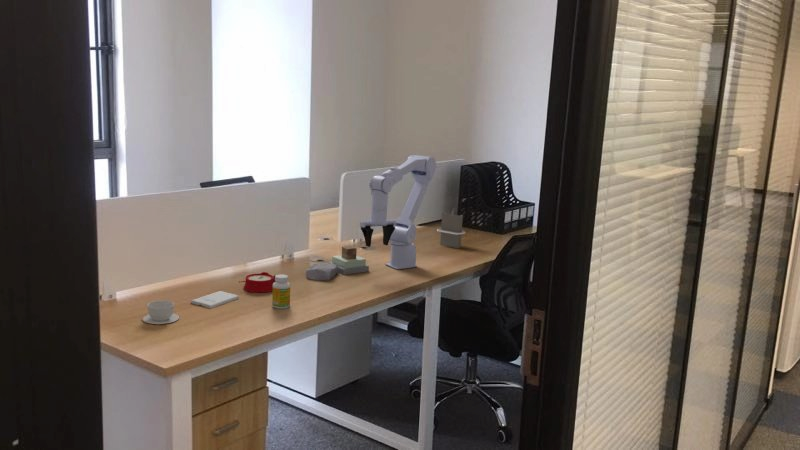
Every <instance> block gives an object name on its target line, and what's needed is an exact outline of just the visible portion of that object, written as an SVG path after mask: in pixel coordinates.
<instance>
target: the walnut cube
mask: <svg viewBox="0 0 800 450" xmlns="http://www.w3.org/2000/svg"><path fill="white" fill-rule="evenodd" d="M357 250H358V248H357V247H355V246H353V245H347V246H346V245H345V246H341V255H342V258H344V259H347V260H348V259H356V255H357Z"/></svg>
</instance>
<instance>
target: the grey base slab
mask: <svg viewBox="0 0 800 450" xmlns="http://www.w3.org/2000/svg"><path fill="white" fill-rule="evenodd" d="M327 264H333V265H336V264H334V263H332V261H329V262H327ZM337 266H338V265H337ZM369 271H370V266H369V265H367V264H366V266H359V267H352V268H343V267H341V266H338V271H337V273H339V274H342V275H350V274H357V273H364V272H365V273H366V272H369Z"/></svg>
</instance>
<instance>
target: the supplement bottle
mask: <svg viewBox="0 0 800 450" xmlns="http://www.w3.org/2000/svg"><path fill="white" fill-rule="evenodd" d="M275 275H276V276H275ZM275 275H274V276H275V281H276V282H274V283H273V291H271V292H272V293H271V294H272V299H271V300H272V301H271V303H272V305H271V306H272V307H273V308H274V309H280V310H283V309H288V308H289V307H290V306H291V284H290V282H289V275H287V274H283V273H282V274H275Z"/></svg>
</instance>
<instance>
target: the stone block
mask: <svg viewBox="0 0 800 450" xmlns="http://www.w3.org/2000/svg"><path fill="white" fill-rule="evenodd" d="M337 271H338V266H337V265H333V264H328V262H327V263H326V262H325V263H324V262H322V263H317V264H313V265H311V266H309V267H308V269H306V270H305V277H306V278H307V279H308V280H319V281H330V280H332V278H334V277H335V275H336V274H337V273H338V272H337Z"/></svg>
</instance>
